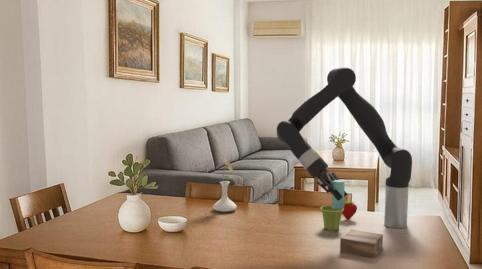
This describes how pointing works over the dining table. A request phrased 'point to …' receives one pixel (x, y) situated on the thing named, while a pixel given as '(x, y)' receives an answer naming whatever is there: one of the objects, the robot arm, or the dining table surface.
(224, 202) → the flower in vase
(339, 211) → the plant pot
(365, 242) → the walnut base
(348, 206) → the strawberry
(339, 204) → the teal post
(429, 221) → the dining table surface
